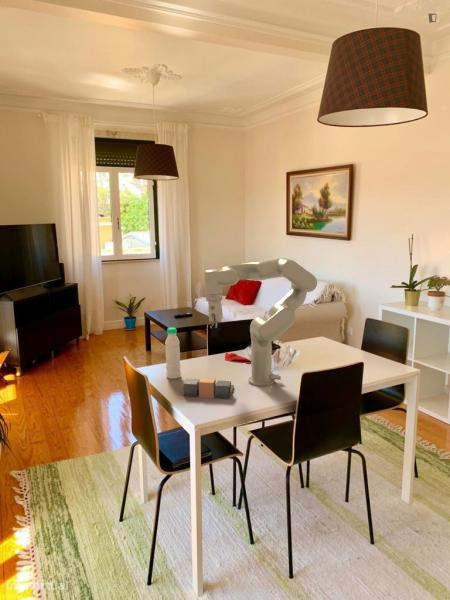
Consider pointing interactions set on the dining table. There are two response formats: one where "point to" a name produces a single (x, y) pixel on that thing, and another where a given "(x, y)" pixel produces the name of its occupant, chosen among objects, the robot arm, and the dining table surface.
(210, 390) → the block
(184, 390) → the gray dumbbell
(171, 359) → the water bottle
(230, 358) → the cloth
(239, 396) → the dining table surface
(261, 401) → the dining table surface
